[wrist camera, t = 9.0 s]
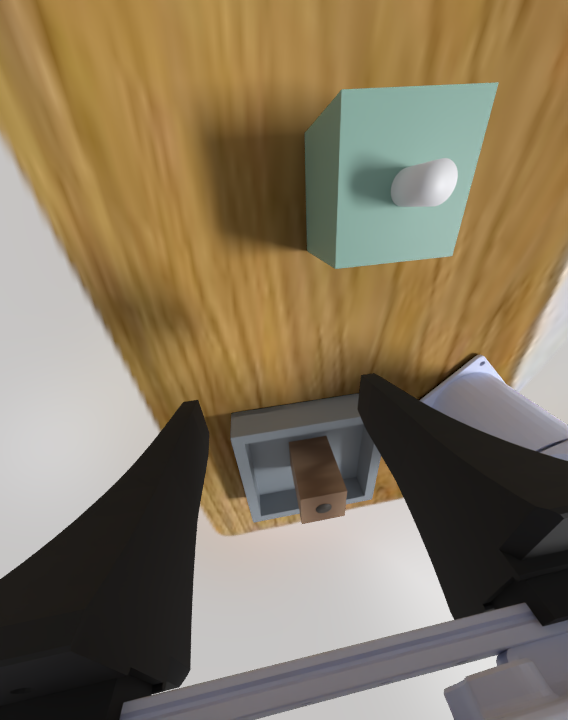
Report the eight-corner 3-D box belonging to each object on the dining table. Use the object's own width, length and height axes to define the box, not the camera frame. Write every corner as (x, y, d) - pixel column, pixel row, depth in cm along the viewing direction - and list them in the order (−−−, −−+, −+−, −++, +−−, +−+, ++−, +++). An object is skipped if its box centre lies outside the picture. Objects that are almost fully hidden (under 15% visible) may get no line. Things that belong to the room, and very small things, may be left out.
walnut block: (326, 435, 26) (347, 491, 21) (325, 459, 28) (344, 516, 23) (288, 442, 26) (300, 500, 20) (290, 466, 28) (302, 524, 22)
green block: (406, 127, 14) (557, 54, 7) (390, 242, 17) (485, 263, 11) (304, 133, 14) (366, 60, 7) (306, 250, 17) (351, 279, 10)
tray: (374, 390, 24) (390, 411, 22) (361, 476, 32) (371, 499, 29) (231, 413, 23) (230, 438, 21) (252, 496, 31) (253, 522, 28)
